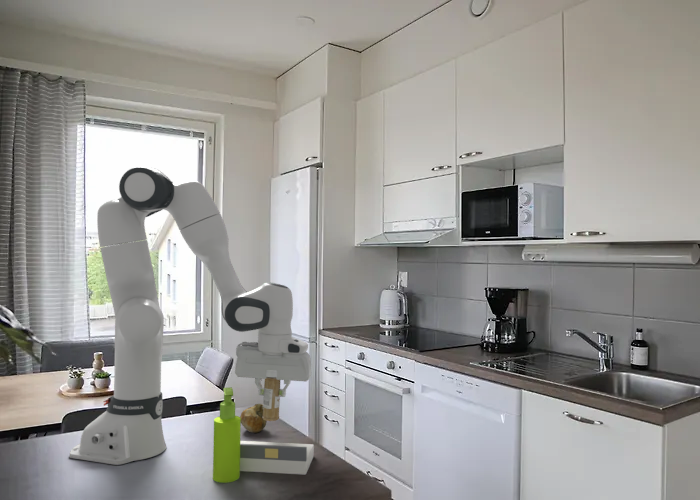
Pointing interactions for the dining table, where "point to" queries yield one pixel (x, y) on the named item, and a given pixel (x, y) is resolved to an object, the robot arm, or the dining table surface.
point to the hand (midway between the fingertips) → (272, 395)
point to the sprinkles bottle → (271, 396)
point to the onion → (253, 418)
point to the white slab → (275, 457)
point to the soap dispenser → (226, 441)
